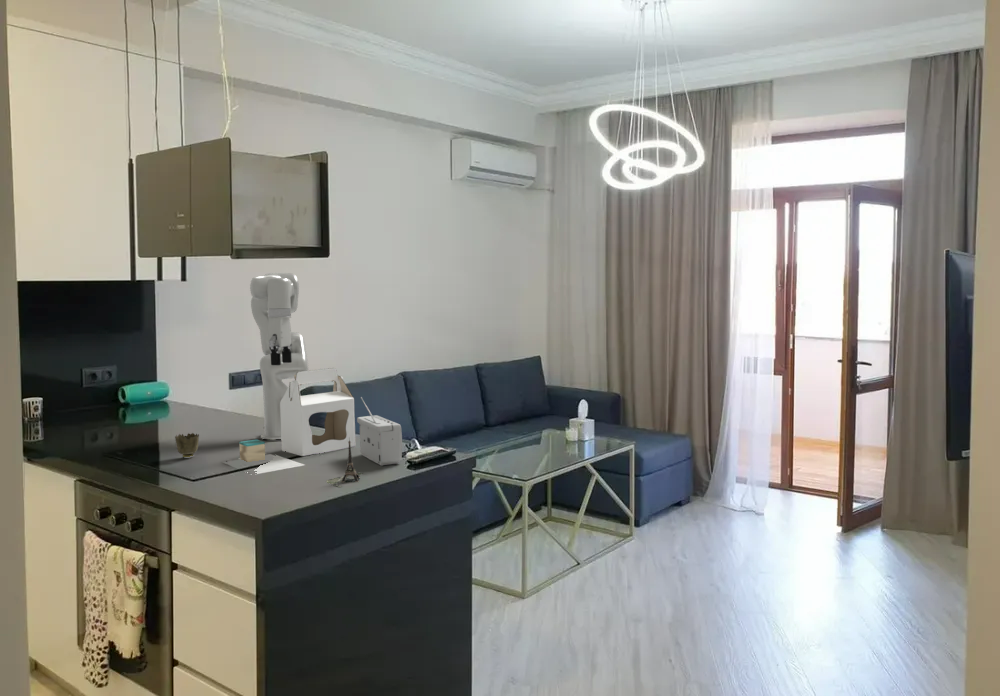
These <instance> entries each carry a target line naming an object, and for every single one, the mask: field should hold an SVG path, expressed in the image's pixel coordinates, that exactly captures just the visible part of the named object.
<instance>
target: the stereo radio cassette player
mask: <svg viewBox="0 0 1000 696" xmlns="http://www.w3.org/2000/svg"><path fill="white" fill-rule="evenodd" d="M360 399H361V401H362V402H363V404H364V406H365V408H366V410H367V411H368V414H369V415H367V416H359V417H357V418H356V423H358V424H359V451H360V455H361V456H363V457H365V458H366V459H368V460H370V461H372V462H374V463H376V464H378V465H380V466H381V467H382V466H388V465H389V466H390V465H398V464H399V462H402V459H403V457H402V456H403V435H402V434H403V433H402V426H401V424H399V423H397V422H395V421H393V420H389V419H388V418H384V417H382V416H380V415H377V414H376V415H375V414H374V415H373V414H372V412H371V411H370V409H369V407H368V406H367V404H366V403H365V401H364V399H363V397H362V396H361V397H360Z"/></svg>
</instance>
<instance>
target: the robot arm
mask: <svg viewBox="0 0 1000 696" xmlns="http://www.w3.org/2000/svg"><path fill="white" fill-rule="evenodd" d="M249 286H250V287H249V289H250V290H249V291H250V295H251V300H250V308H251V314H252V317H253V319H254V322H255V323H256V325H257V327H258V329H259V331H260V332H259V335H260V344H261V349H262V353H263V355H264V356H263V357H261V358H260V360H259V369H260V375H261V380H262V392H263V417H264V426H263V429H264V433H262V434H261V435H260V439H261V438H264V439H281V413H280V402H281V400H282V398H283V396H284V394H285V393H286V391H287V389H288V387H289V386H287V385H286V384H285V382H283V380H287V379H289V380H291V379H295V378H294V375H296V373H297V372H301V371H309V361H308V353H307V348H306V342H305V338H304V337H303V335H302V333H299V332H295V331H292V327H291V320H290V319H291V318H292V314H293V313H296V312H297V309H298V307H299V306H298V305H299V296H300V282H299V278H298V277H297V275H296V274H294V273H291V272H285V273H283V272H281V273H280V272H278V273H277V272H275V273H274V272H270V273H266V274H264V275H262V276H254V277H252V278H251V281H250V284H249Z"/></svg>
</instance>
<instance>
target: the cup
mask: <svg viewBox="0 0 1000 696" xmlns="http://www.w3.org/2000/svg"><path fill="white" fill-rule="evenodd" d="M199 437H200V434H197V433H194V432H192V433H189V432H188V433H187V435H184V434H183V433H182V434H180V433H179V434H178V435H177V434H176V435H175V436H174V439H175V445H176V449H177V452H178V453H179V454H181V457H182V456H183V457H190V456H193V455H194V454H195V453H197V451H198V448H199V440H200V438H199ZM194 456H195V455H194Z"/></svg>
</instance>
